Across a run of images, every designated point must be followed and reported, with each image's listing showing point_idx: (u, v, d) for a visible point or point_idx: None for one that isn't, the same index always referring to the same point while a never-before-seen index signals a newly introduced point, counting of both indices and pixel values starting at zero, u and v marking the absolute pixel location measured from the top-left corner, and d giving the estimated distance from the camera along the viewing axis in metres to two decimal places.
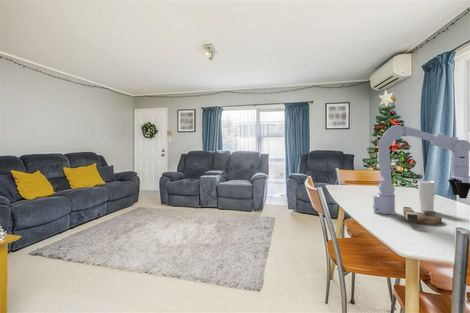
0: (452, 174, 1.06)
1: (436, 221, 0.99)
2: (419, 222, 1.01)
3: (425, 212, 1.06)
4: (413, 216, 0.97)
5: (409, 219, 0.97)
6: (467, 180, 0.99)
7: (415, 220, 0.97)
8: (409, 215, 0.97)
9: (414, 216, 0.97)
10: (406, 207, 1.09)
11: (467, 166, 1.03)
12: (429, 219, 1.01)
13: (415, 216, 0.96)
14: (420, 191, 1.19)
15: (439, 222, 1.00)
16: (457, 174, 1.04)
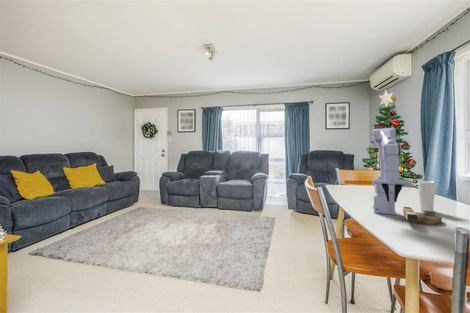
0: None
1: (436, 221, 0.99)
2: (419, 222, 1.01)
3: (425, 212, 1.06)
4: (413, 216, 0.97)
5: (409, 219, 0.97)
6: None
7: (415, 220, 0.97)
8: (409, 215, 0.97)
9: (414, 216, 0.97)
10: (406, 207, 1.09)
11: (386, 170, 1.03)
12: (429, 219, 1.01)
13: (415, 216, 0.96)
14: (420, 191, 1.19)
15: (439, 222, 1.00)
16: None
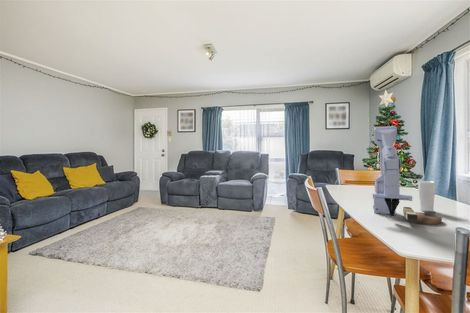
0: None
1: (436, 221, 0.99)
2: (419, 222, 1.01)
3: (425, 212, 1.06)
4: (413, 216, 0.97)
5: (409, 219, 0.97)
6: None
7: (415, 220, 0.97)
8: (409, 215, 0.97)
9: (414, 216, 0.97)
10: (406, 207, 1.09)
11: (386, 185, 1.03)
12: (429, 219, 1.01)
13: (415, 216, 0.96)
14: (420, 191, 1.19)
15: (439, 222, 1.00)
16: None
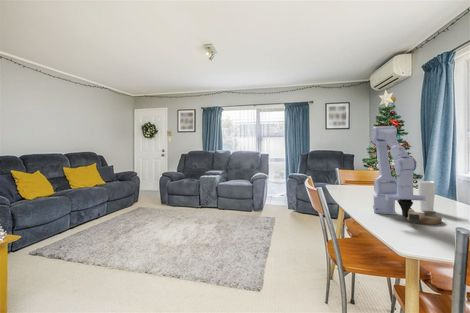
0: None
1: (436, 221, 0.99)
2: (419, 222, 1.01)
3: (425, 212, 1.06)
4: (415, 216, 0.97)
5: (411, 219, 0.97)
6: (387, 197, 1.03)
7: (417, 220, 0.96)
8: (411, 215, 0.97)
9: (416, 216, 0.96)
10: None
11: (402, 185, 1.00)
12: (429, 219, 1.01)
13: (417, 216, 0.96)
14: (420, 191, 1.19)
15: (439, 222, 1.00)
16: (397, 192, 1.03)
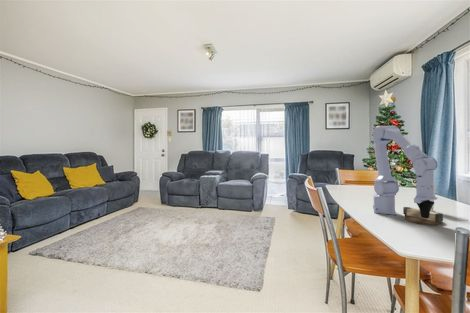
0: (416, 193, 1.02)
1: None
2: (419, 222, 1.01)
3: None
4: (441, 215, 0.97)
5: (439, 219, 0.96)
6: (418, 200, 0.96)
7: (442, 219, 0.97)
8: (439, 215, 0.96)
9: (441, 215, 0.97)
10: (405, 207, 1.08)
11: (425, 186, 0.97)
12: None
13: (442, 215, 0.97)
14: None
15: (439, 222, 1.00)
16: (418, 193, 1.00)
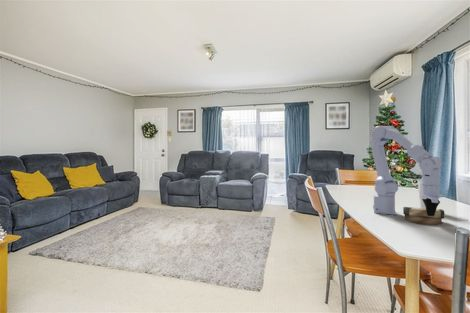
0: (423, 192, 1.02)
1: (436, 221, 0.99)
2: (419, 222, 1.01)
3: None
4: None
5: None
6: (436, 200, 0.95)
7: None
8: None
9: None
10: (405, 207, 1.08)
11: (433, 185, 0.99)
12: (429, 219, 1.01)
13: None
14: (420, 191, 1.19)
15: (439, 222, 1.00)
16: (427, 193, 1.00)
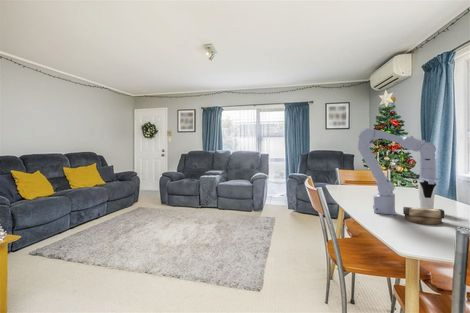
0: (420, 176, 1.09)
1: (436, 221, 0.99)
2: (419, 222, 1.01)
3: None
4: None
5: None
6: (432, 181, 1.02)
7: None
8: None
9: None
10: (405, 207, 1.08)
11: (433, 168, 1.06)
12: (429, 219, 1.01)
13: None
14: (420, 191, 1.19)
15: (439, 222, 1.00)
16: (424, 176, 1.07)
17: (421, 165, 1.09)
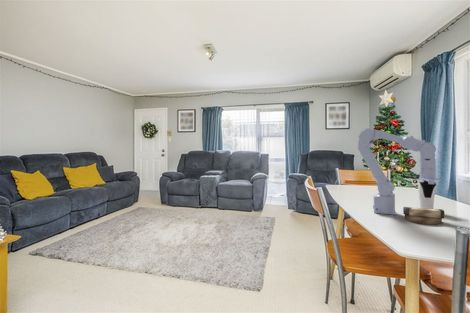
0: (420, 176, 1.09)
1: (436, 221, 0.99)
2: (419, 222, 1.01)
3: None
4: None
5: None
6: (432, 181, 1.02)
7: None
8: None
9: None
10: (405, 207, 1.08)
11: (433, 168, 1.06)
12: (429, 219, 1.01)
13: None
14: (420, 191, 1.19)
15: (439, 222, 1.00)
16: (424, 176, 1.07)
17: (421, 165, 1.09)
